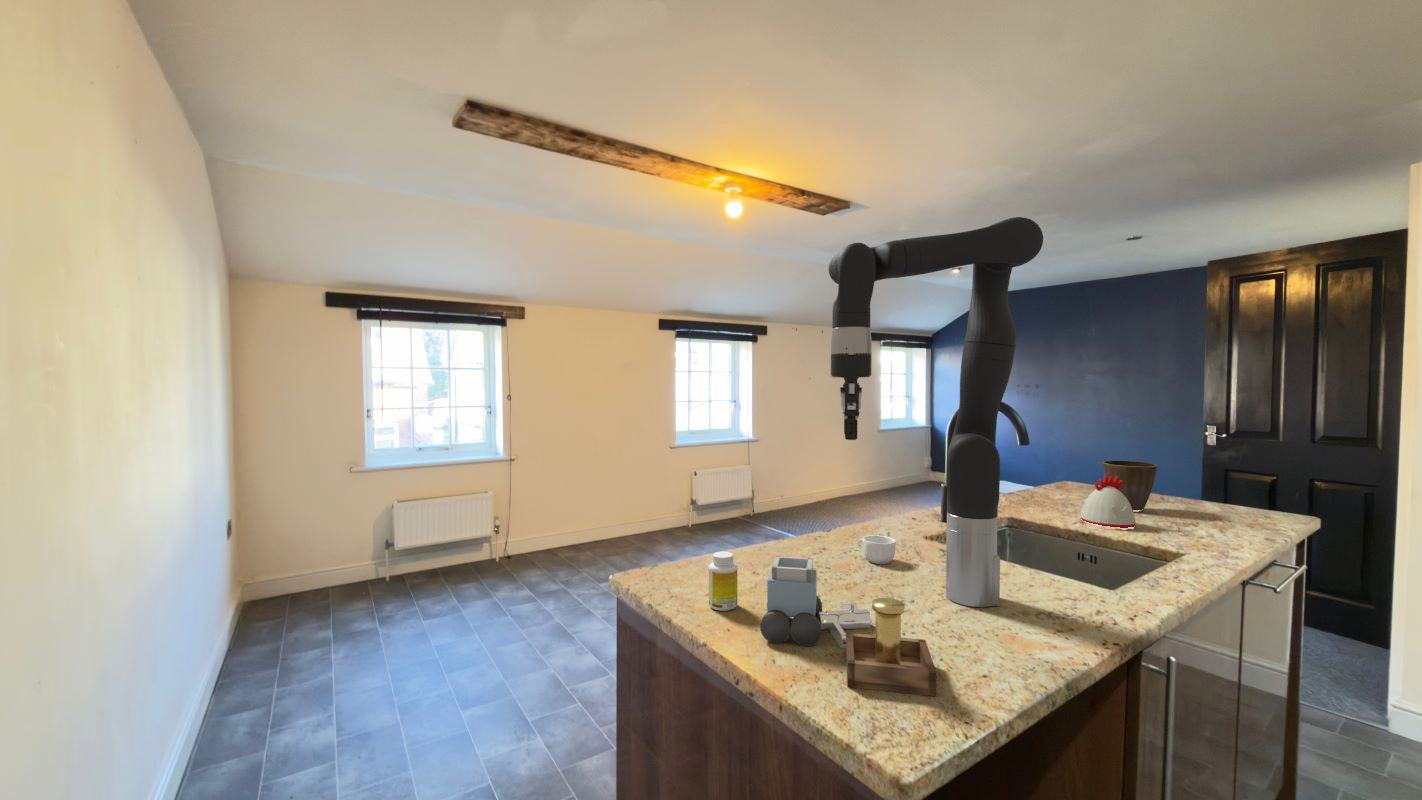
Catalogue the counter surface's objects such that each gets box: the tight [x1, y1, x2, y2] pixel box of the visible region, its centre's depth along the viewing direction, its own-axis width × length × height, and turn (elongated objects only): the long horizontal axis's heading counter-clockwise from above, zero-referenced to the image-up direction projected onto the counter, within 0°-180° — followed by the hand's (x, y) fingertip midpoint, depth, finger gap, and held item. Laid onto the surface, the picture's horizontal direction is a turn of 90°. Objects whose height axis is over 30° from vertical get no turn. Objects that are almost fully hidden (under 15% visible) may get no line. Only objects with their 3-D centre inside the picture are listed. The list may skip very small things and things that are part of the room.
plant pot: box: [1102, 460, 1158, 510], centre depth 193 cm, size 15×15×16 cm
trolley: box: [759, 555, 823, 647], centre depth 100 cm, size 10×11×12 cm
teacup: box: [857, 534, 897, 565], centre depth 139 cm, size 10×8×5 cm
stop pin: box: [871, 597, 906, 665], centre depth 84 cm, size 5×5×10 cm
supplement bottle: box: [708, 551, 738, 612], centre depth 110 cm, size 6×6×10 cm
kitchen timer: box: [1079, 475, 1137, 528], centre depth 174 cm, size 14×14×15 cm
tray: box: [845, 632, 937, 697], centre depth 85 cm, size 12×10×4 cm
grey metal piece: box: [816, 601, 872, 649], centre depth 98 cm, size 10×4×9 cm
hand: (850, 437), depth 108 cm, fingers open, 8 cm apart
